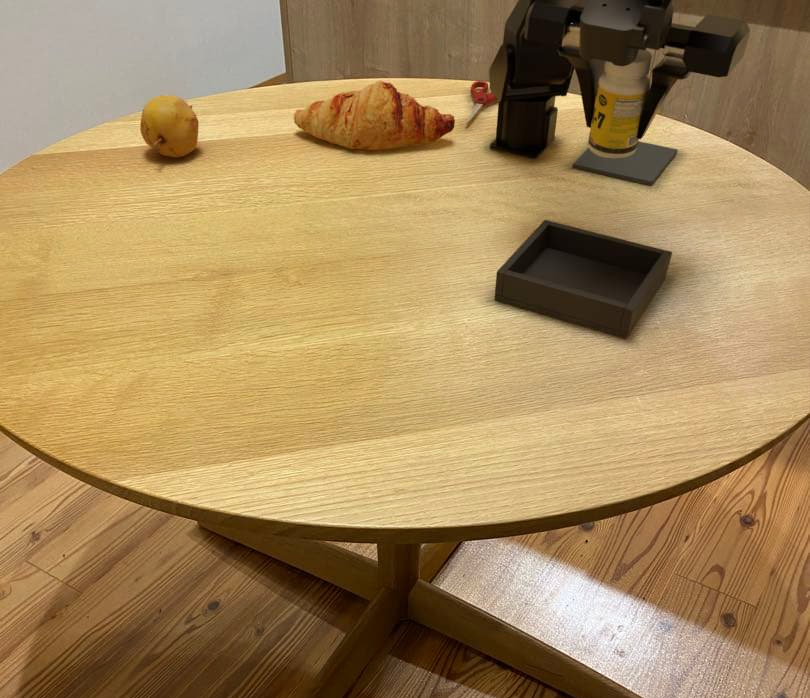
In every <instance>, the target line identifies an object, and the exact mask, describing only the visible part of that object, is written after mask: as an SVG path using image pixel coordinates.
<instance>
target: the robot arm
mask: <svg viewBox="0 0 810 698" xmlns="http://www.w3.org/2000/svg"><path fill="white" fill-rule="evenodd" d="M676 5H677V0H518V1H517V2H516V4H515V5H514V7H513V9H512V11H511V12H510V14H509V16H508V17H507V20H506V21H505V23H504V28H503V37H502V44H501V45H500V46H499V49H498V51H497V53H496V54H495V57H494V59H493V60H492V63H491V65H490V67H489V71H488V73H489V75H488V76H489V77H488V78H489V90H490V92H491V91H492V93H493V94H494V95H495V97H496V98H497V99H498V100H497V101H498V105H497V117H496V131H495V133H496V134H495V139H494V140H492V141H491V142H490V144H489V149H491V150H495V151H499V152H504V153H508V154H512V155H517V156H520V157H521V156H522V157H525V158H530V159H537V158H539V157H540V156H541V155H542V154H543V153H544V152H545V151H546V150H547V149H548V148H549V147H550V146H551V145H552V144H553V143H554V142H555V141H556V129H557V128H556V127H557V122H558V121H557V119H558V111H559V109H558V106H555V103H556V97H567V96H568V92H569V89H570V86H571V82H572V78H573V75H574V71H575V74H576V77H577V81H578V86H579V91H580V96H581V101H582V102H581V103H582V108H583V113H584V119H585V124H586V125H585V126H586V127H587V128H588V129H589V128H590V129H591V123H592V117H593V111H594V105H595V99H596V93H597V86H598V82H599V78H600V76H601V75H602V74H603V73H604V72H605V62H606V61H607V62H612V63H613V64H614V65H616V66H627V65H629V64H631V63H632V62H633V61H634V60H635V58H636V57H637V53H638V51H639V50H643V51H645V50H647V49H650V50H654V51H660V49H663V51H662V52H663V53H662V55H664V56H663V58H662V59H661V60H660V61H659V62H658V63H657V64H656V65H655V66H654V67H653V68H652V70H651V82H650V89H649V93H648V97H647V100H646V103H645V106H644V110H643V113H642V116H641V119H640V123H639V128H638V134H637V138H638V139H639V140H642V138H644V137H645V135H646V133H647V132H648V129H649V128H650V127H651V125H652V123H653V121H654V119H655V117H656V116H657V114H658V112H659V110H660V109H661V107H662V105H663V104H664V102H665V100H666V98H667V96H668V95H669V93H670V91H671V90H672V88H673V87H674V85H675V84H676V82H677V81H678V80H680V81H681V80H686V79H687V78H689V77H690V76H691V74H692V73H694V74H700V75H705V76H710V77H715V78H725V77H728V76H729V75H730V73H731V72H732V71H733V70H734V69H735V68H736V66H737V65H738V64H739V63H740V62H741V60H742V59H743V58H744V56H745V52H746V49H747V46H748V43H749V39H750V35H751V34H750V32H751V30H750V27H749V25H748V22H747V20H745V19H738V18H732V17H727V16H720V15H714V14H708V13H707V14H706V15H705V16H704V17H703V18H702V19H701V20H700V21H699V22H698V23H697V24H696V25H695V26H691V25H685V24H680V23H674V22H673V17H674V13H675V10H676Z"/></svg>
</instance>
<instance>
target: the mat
mask: <svg viewBox="0 0 810 698" xmlns="http://www.w3.org/2000/svg"><path fill="white" fill-rule="evenodd" d="M678 150H679V149H677V148H673V147H668V146H662V145H658V144H654V143H648V142H643V141H639V140H638V145H637V149H636V151H635V152H634V153H633V154H632V155H630V156H628V157H624V158H605V157H601V156H598V155H596V154H594V153H593V152H592V151H591V150H590V148H589V147H588V148H586V150H585V151H584V152H583V153H582V154H581V155H580V156H578V158H576V160H575V161H574V162H573V163H572V169H576V170H580V171H585V172H590V173H593V174H597V175H598V174H599V175H603V176H607V177H611V178H614V179H615V178H616V179H620V180H625V181H628V182H634V183H638V184H643V185H647V186H652V185H653V184H654V183H655V182H656V181H657V180H658V178H659V177H660V175H661V174H662V173H663V172H664V170H665V169H666V167H667V166H668V165H669V164H670V163H671V162H672V160H673V159H674V158H675V156H676V155H678Z"/></svg>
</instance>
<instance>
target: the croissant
mask: <svg viewBox="0 0 810 698" xmlns="http://www.w3.org/2000/svg"><path fill="white" fill-rule="evenodd" d="M293 120H294V121H293V122H294V124H295V125H296V127H297V128H299V129H300V130H302V131H303V132H305V133H306V134H309V135H311V136H313V138H317V139H319V140H322V141H323V140H324V141H326V142H328V143H330V144H333V145H338V146H341V147H344V148H347V149H350V150H355V149H357V150H368V151H379V150H390V149H393V148H399V147H403V146H418V145H421V144H422V145H423V144H427V143H431V142H436V141H437V140H438V139H441V138H442V137H443V136H446V134H449V133H451V132H453V130H454V128H455V122H456V120H455V116H454V115H453V114H450V113H443V114H442V113H440V112H439V110H438V108H436V107H432V106H431V105H425V106H423V105H422V104H420V103H419V102H418V101H417V100H416V99H415V98H414V97H412V96H410V95H409V94H407V93H402V92H400V91H398V89H397V88H396V87H395V86H394V85H393V83H391V82H385V81H383V80H379V81H378V80H377V81H376V82H375V83H371V84H368V85H366V86H365V87H363V89H361V90H350V91H342V92H339V93H337V94H335V95H333V96H332V97H331V98H328V99H326V100H318V101H317V100H316V101H314V102H311V104H308V105H307V106H306V107H305V108H304V109H295V112H294V114H293Z"/></svg>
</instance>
